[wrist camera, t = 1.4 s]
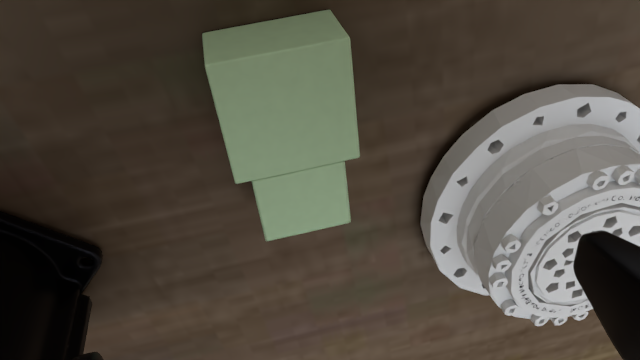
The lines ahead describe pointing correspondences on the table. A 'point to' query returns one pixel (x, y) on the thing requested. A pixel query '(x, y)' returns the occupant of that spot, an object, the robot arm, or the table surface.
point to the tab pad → (287, 117)
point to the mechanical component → (535, 197)
